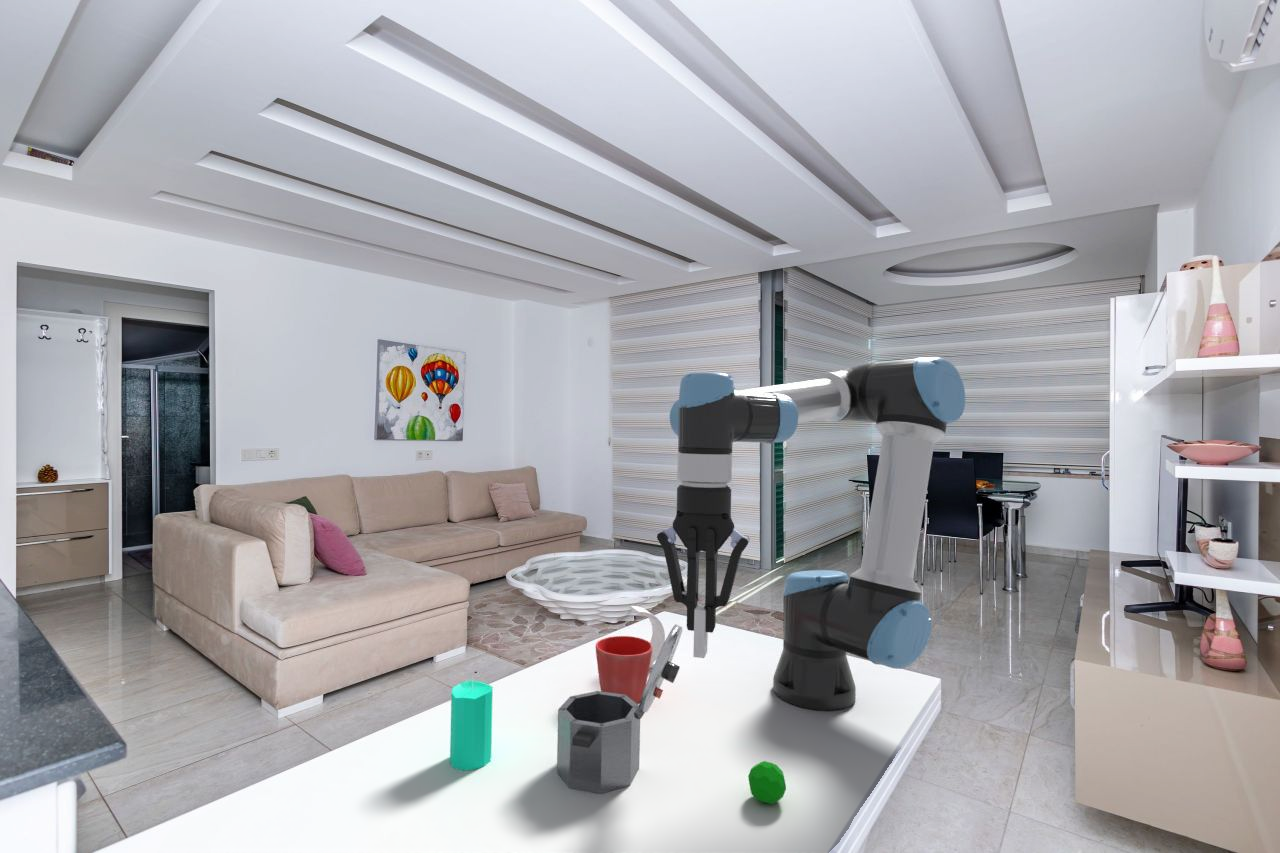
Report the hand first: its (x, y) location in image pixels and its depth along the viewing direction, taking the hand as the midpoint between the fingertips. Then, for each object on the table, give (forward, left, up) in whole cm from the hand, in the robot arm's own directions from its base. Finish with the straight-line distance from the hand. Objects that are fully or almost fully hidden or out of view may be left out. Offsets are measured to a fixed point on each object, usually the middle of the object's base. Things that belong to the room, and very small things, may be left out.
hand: (700, 654), depth 87 cm
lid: (+7, 0, -3) cm, 7 cm away
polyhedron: (-9, 0, -19) cm, 21 cm away
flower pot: (+19, -25, -19) cm, 36 cm away
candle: (+34, +3, -19) cm, 39 cm away
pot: (+15, 0, -19) cm, 24 cm away
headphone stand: (+19, -42, -19) cm, 50 cm away
